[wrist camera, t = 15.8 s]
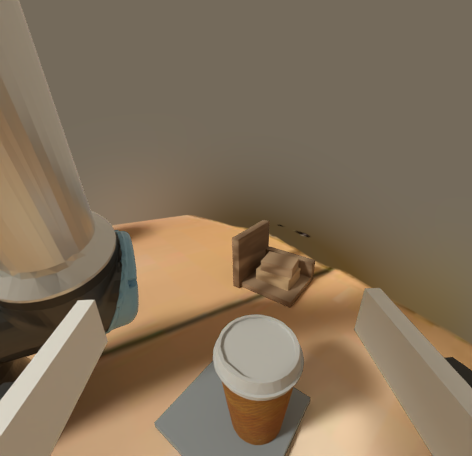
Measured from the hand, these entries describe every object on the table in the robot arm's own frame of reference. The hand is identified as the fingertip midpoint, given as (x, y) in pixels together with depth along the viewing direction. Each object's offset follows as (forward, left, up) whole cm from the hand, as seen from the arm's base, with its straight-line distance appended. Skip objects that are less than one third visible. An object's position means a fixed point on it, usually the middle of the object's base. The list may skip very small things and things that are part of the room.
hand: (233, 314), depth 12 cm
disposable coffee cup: (-4, +9, -25) cm, 26 cm away
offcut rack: (-16, +35, -25) cm, 46 cm away
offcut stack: (-15, +36, -24) cm, 46 cm away
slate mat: (-6, +8, -25) cm, 27 cm away
